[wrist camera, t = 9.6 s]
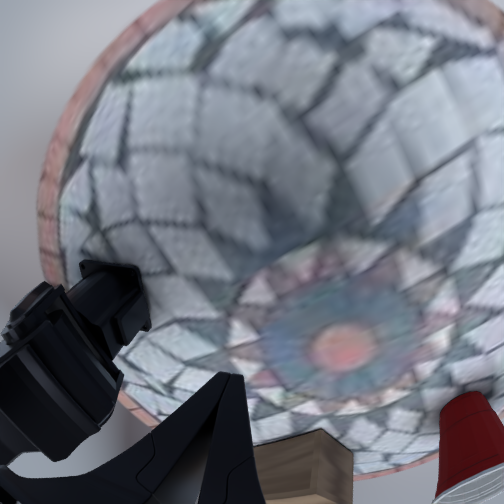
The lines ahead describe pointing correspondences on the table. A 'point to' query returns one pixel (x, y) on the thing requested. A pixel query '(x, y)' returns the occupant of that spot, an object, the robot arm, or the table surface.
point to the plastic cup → (470, 451)
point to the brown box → (305, 470)
